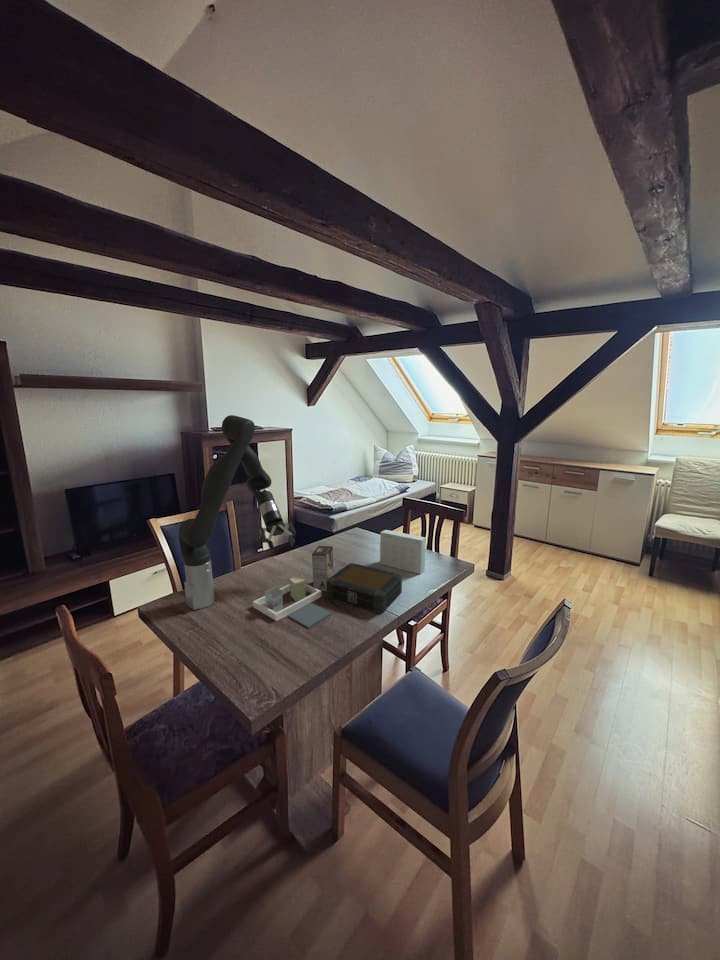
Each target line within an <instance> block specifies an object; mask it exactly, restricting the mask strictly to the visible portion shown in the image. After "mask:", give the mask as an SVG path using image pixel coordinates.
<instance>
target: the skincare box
mask: <svg viewBox="0 0 720 960" xmlns="http://www.w3.org/2000/svg"><path fill="white" fill-rule="evenodd" d="M426 538H427V537H425V536H419V535H414V534H409V533H404V532H401V531H400V532H398V531H395V530H389V529H384V530H382V531H380V538H379V539H380V542H379V565H384V566H386V567H391V568H394V569H399V570H402V571H408V572H410V573H416V574H418V575H421V574H422V573H423V572H424V571H425V569H426V568H425V567H426V566H425V565H426V563H425V562H426V544H427V543H426V541H427V540H426Z"/></svg>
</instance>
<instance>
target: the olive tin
mask: <svg viewBox="0 0 720 960" xmlns="http://www.w3.org/2000/svg"><path fill="white" fill-rule="evenodd" d="M289 584H290V591H289V593H290V597H291V598H292V599H293V600H294V601H295V602H298V601H300V600H302V599H304V598H305V597H307V591H306V586H305V584H306V578H304V577H303V576H302V575H297V576H294V577H290V578H289Z"/></svg>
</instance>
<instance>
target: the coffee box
mask: <svg viewBox="0 0 720 960" xmlns="http://www.w3.org/2000/svg"><path fill="white" fill-rule="evenodd" d="M333 549H334V548H333V546H331V545H329V546H327V545H318V546H317V547H316V548H315V549H314V551H313V552H312V554H311V557H312V558H311V562H312V564H311V565H312V581H313V584H312V585H313V586H312V587H314V588H316V589H318V590H320V591H321V592H323V591H324V592H327V585H326V582H327V579H329V578H330V577H332V576H333V575H334V552H333V551H334V550H333Z"/></svg>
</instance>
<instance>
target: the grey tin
mask: <svg viewBox="0 0 720 960" xmlns="http://www.w3.org/2000/svg"><path fill="white" fill-rule="evenodd" d="M264 596H265V602H266V603H265V606H266V607H268V608H269V609H271V610H273V611H275V612H276V613H277V612H279V611H281V610H282V609H284V599H283V595H282V590H280V588H278V587H277V586H273V587H271V588H268V589H266V590H265V591H264Z"/></svg>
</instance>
